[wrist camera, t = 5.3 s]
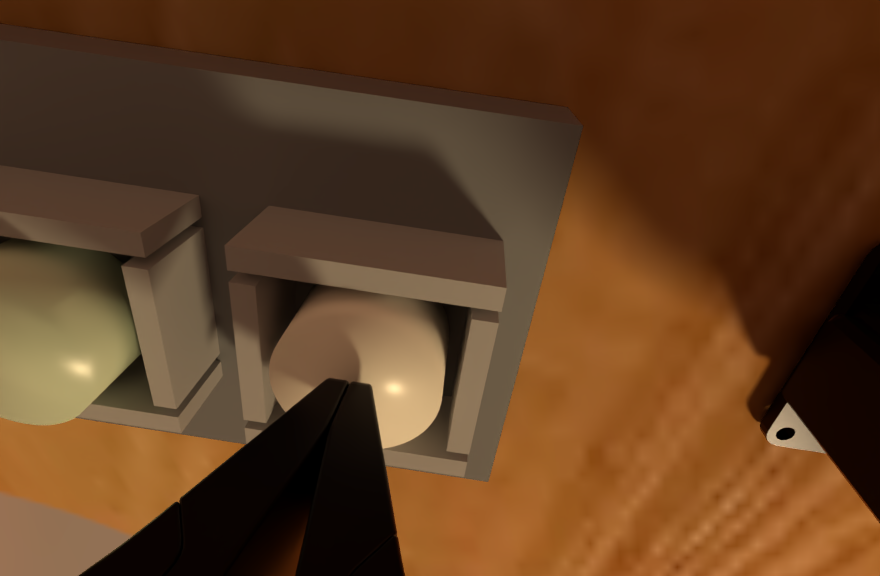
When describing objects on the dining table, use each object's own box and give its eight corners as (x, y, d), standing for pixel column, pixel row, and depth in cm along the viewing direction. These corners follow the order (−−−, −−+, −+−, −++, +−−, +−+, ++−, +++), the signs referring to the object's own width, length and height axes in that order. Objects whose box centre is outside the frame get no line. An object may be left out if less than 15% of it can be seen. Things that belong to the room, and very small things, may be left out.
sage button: (139, 242, 10) (64, 293, 8) (166, 372, 11) (109, 436, 10) (-26, 217, 10) (-136, 262, 8) (26, 350, 12) (-57, 411, 10)
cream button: (459, 276, 10) (453, 329, 9) (439, 395, 12) (431, 460, 10) (301, 252, 10) (263, 300, 9) (304, 374, 12) (273, 435, 10)
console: (567, 107, 11) (606, 153, 7) (487, 429, 16) (488, 548, 12) (-320, -24, 11) (-698, -40, 7) (-117, 336, 16) (-285, 427, 12)
